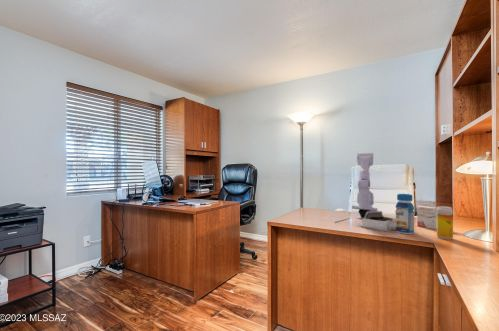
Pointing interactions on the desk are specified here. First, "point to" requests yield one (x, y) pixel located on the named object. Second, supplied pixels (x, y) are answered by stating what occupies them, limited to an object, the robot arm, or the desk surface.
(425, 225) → the ink cartridge box
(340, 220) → the long thin gray rod
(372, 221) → the bracket
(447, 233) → the white lidded yellow container
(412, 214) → the blue pill bottle
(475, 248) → the desk surface
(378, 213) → the electrical switch
